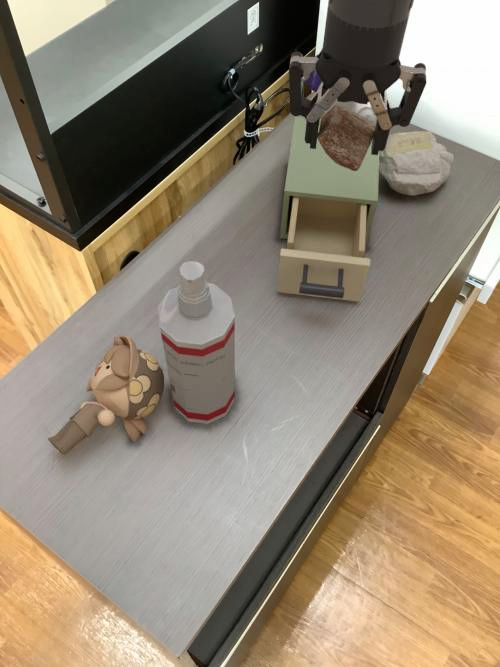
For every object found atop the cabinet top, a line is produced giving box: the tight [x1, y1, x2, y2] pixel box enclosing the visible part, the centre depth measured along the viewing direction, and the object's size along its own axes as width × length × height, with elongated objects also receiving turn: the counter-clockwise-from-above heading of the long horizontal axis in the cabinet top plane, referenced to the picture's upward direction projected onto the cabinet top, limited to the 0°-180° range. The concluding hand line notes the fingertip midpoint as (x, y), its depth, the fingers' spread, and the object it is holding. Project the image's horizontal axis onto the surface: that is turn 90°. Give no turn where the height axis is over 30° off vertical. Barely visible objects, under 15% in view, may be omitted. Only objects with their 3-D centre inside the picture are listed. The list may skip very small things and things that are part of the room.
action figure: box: [47, 334, 165, 456], centre depth 72 cm, size 10×11×15 cm
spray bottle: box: [157, 260, 236, 425], centre depth 67 cm, size 8×8×25 cm
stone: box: [317, 103, 375, 171], centre depth 70 cm, size 7×6×5 cm
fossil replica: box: [379, 130, 455, 196], centre depth 96 cm, size 12×8×10 cm
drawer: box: [276, 196, 371, 303], centre depth 85 cm, size 19×11×8 cm, turn 172°
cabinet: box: [279, 116, 380, 248], centre depth 92 cm, size 16×13×10 cm
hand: (343, 146), depth 71 cm, fingers closed on stone, 6 cm apart
